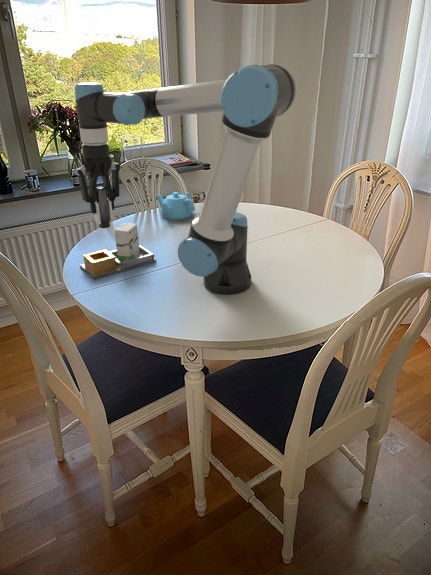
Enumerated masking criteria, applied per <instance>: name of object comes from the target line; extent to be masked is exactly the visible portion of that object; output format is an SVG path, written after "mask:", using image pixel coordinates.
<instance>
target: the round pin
mask: <svg viewBox="0 0 431 575" xmlns="http://www.w3.org/2000/svg"><path fill="white" fill-rule="evenodd" d="M96 202H97V203H99V211H100V219H101V224H98V227H99V228H100V229H109V228H111V221H110V217H109V208H108V198H107V190H106V187H104V186H97V188H96Z"/></svg>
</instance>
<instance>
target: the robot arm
mask: <svg viewBox="0 0 431 575" xmlns="http://www.w3.org/2000/svg"><path fill="white" fill-rule="evenodd" d="M296 92H297V87H296V82H295V79H294V77H293V75H292V74H291V72H290V71H289V70H288V69H287V68H285V67H283V66H282V65H278V64H264V65H263V64H261V65H258V64H252V65H246V66H244V67H242V68H240V69H237V70H235V71H234V72H233V73H232V74H231V75H230V76H228V77H227V79H221V80H213V81H212V80H211V81H206V82H197V83H189V84H182V85H181V84H179V85H174V86H173V85H171V86H166V87H165V86H164V87H156V88H147V89H142V90H134V91H127V92H125V91H124V92H106V91H105V90H104V86H103V84H102V83H100V82H81V83H80V82H79V83H77V84H75V86H74V95H75V96H74V97H75V100H74V101H75V106H76V110H77V118H78V119H77V120H78V127H79V135H80V136H79V137H80V142H81V143H82V144H81V151H82V157H83V158H82V159H83V161H82V165H81V166H80V167H75V168H74V172H75V174H76V175H77V178H78V184H79V188H80V193H81V197H82V201H84V202H85V203H89V207H90V213H92V214H93V216H94V222H95V223H96V224H98V225H99V224H101V219H100V211H99V203H97V202H96V188H97V187H98V186H97V185H98V184H97V182H98V180H99V177H101V179H102V183H103V187H106V190H107V199H108V208H109V217H110V223H112V222H114V214H113V210H115V201H116V198H119V197H120V169H121V164H120V163H117V162H113V161H112V159H111V157H110V156H111V152H110V144H109V143H108V142H109V134H108V133H109V132H108V124H107V123H110V124H117V125H119V124H120V125H125V126H130V125H132V126H134V125H139V124H140V123H141V122H142V121H143V120H146V119H153V118H163V117H175V116H185V115H186V116H188V115H197V114H198V115H199V114H211V113H222V112H223V116H222V118H221V123H222V126H223V128H224V130H225V132H224V135H223V138H222V142H221V145H220V148H219V152H218V155H217V159H216V162H215V165H214V169H213V172H212V174H211V179H210V181H209V185H208V189H207V191H206V195H205V198H204V202H203V205H202V208H201V212H200V215H199V216H197V217H195V218H194V219H193V220H192V221H191V225H190V228H189V233H188V235H187V236H186V238H184V239H183V240H182V241H181V242H180V243H179V244H178V247H177V255H178V256H177V257H178V260H179V262H180V263H181V264H182V265H181V266H182V267H183V268H184V269H185V270H186V272H188V273H190V274H192V275H194V276H196V277H203V286H204V287H205V288H206V289H207V290H208V291H210V292H212V293H216V294H220V295H221V294H222V295H235V294H239V293H244V292H245V291H247V290H248V289H249V288H251V286H252V274H251V271H250V268H249V265H248V262H247V253H248V252H247V251H248V250H247V249H248V228H249V226H248V217H247V216H246V215H245V214H244V213H241V212H238V211H237V210H238V207H239V204H240V200H241V198H242V195H243V192H244V189H245V187H246V185H247V181H248V178H249V175H250V173H251V171H252V167H253V164H254V161H255V159H256V156H257V153H258V150H259V147H260V143H261V142H264V141H265V140H267V139H269V138H270V136H271V133H272V130H273V127H274V125H275V121H276V120H277V118H278V117H280V116H283V115H284V114H285V113H286V112H288V110H290V108H291V107H292V105H293V103H294V101H295V97H296V94H297V93H296ZM110 169H111V181H110V174H109V170H110ZM86 172H87V173H88V179H89V180H88V181H89V183H87V179H86V176H85V174H86ZM88 184H89V185H88ZM88 186H89V187H88Z"/></svg>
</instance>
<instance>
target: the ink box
mask: <svg viewBox="0 0 431 575" xmlns="http://www.w3.org/2000/svg"><path fill="white" fill-rule="evenodd" d="M138 232H139V230H138V223H133V222H123V223H122V224H120V225H119V226H118V227H116V228H115V229H114V236H115V237H114V238H115V245H116V246H115V247H116V250H117V255H118V260H119V261H121V262H123V261H126V260H130V259H134V258H137V257H138V256H139V255H140V250H139V245H140V243H139V242H140V240H139V233H138Z"/></svg>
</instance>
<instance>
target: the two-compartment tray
mask: <svg viewBox="0 0 431 575" xmlns="http://www.w3.org/2000/svg"><path fill="white" fill-rule="evenodd" d="M139 250H140V255H139V256H138V257H137V258H134V259H130V260H126V261H123V262H121V261H119V260H118V255H117V249H113V250H110V251H108V250H107V249H101V250H98V251H94V252H90V253H86V254H83V256H82V257H83V262H84V263H81V264H79V268H81V270H83V271H84V272H85V273H86V274H87V275H88V276H89V277H90V278H92V280H93V281H96V280H98V279H102V278H105V277H108V276H112V275H115V274H119V273H123V272H126V271H129V270H133V269H136V268H140V267H143V266H147V265H151V264H154V263H156V262H157V259H156V258H155V254H154V253H153V252H151V251H150V250H149V249H146V248H145V247H144V246H142V245H141V244H139Z"/></svg>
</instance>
